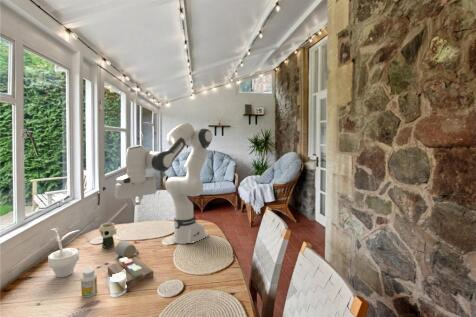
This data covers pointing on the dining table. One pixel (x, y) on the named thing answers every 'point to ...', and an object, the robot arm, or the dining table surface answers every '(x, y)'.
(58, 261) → the potted plant
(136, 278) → the key panel
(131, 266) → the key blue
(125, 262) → the key brick
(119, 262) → the key ivory
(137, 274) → the key sage
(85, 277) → the supplement bottle
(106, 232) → the character mug
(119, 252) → the ceramic mug
